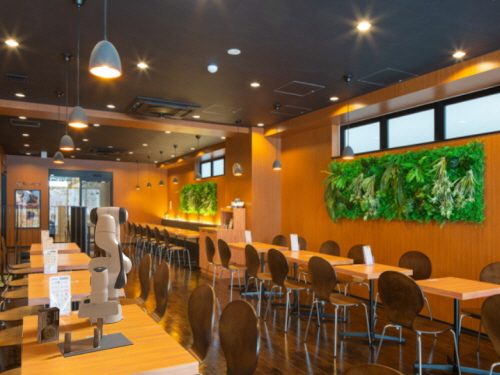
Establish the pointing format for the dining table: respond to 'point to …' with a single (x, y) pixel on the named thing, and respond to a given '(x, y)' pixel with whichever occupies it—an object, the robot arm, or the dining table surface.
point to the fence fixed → (80, 342)
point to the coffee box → (48, 324)
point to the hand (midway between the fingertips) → (98, 324)
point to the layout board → (101, 344)
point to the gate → (100, 327)
